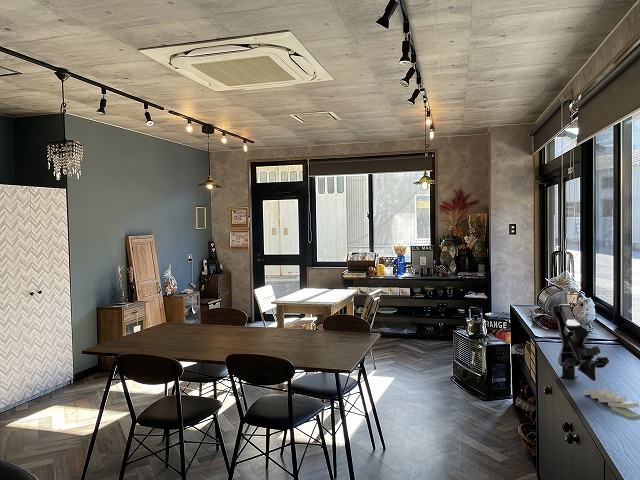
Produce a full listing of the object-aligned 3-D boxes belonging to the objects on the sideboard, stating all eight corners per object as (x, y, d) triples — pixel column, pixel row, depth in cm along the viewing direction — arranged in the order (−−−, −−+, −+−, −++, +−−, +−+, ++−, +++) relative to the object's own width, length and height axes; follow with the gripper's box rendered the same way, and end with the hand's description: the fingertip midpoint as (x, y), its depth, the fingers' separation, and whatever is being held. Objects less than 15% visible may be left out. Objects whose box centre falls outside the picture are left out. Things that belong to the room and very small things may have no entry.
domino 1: (583, 391, 221) (598, 390, 212) (593, 390, 222) (609, 389, 213) (584, 395, 221) (599, 394, 211) (594, 394, 222) (610, 393, 212)
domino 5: (610, 406, 204) (628, 416, 194) (622, 405, 205) (640, 415, 195) (610, 410, 204) (628, 420, 195) (622, 409, 205) (640, 419, 195)
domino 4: (607, 402, 207) (628, 403, 198) (617, 401, 209) (638, 402, 199) (608, 406, 207) (629, 407, 197) (618, 405, 208) (638, 406, 199)
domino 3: (598, 398, 212) (614, 398, 203) (608, 397, 213) (625, 397, 204) (599, 402, 212) (615, 402, 203) (609, 401, 213) (626, 401, 203)
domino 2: (590, 394, 217) (606, 393, 208) (600, 393, 218) (616, 393, 208) (591, 398, 216) (607, 397, 207) (601, 397, 217) (617, 396, 208)
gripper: (567, 340, 222) (582, 372, 212) (606, 338, 224) (623, 370, 213) (557, 353, 231) (571, 384, 220) (595, 351, 232) (611, 382, 222)
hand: (594, 380), depth 219 cm, fingers closed
